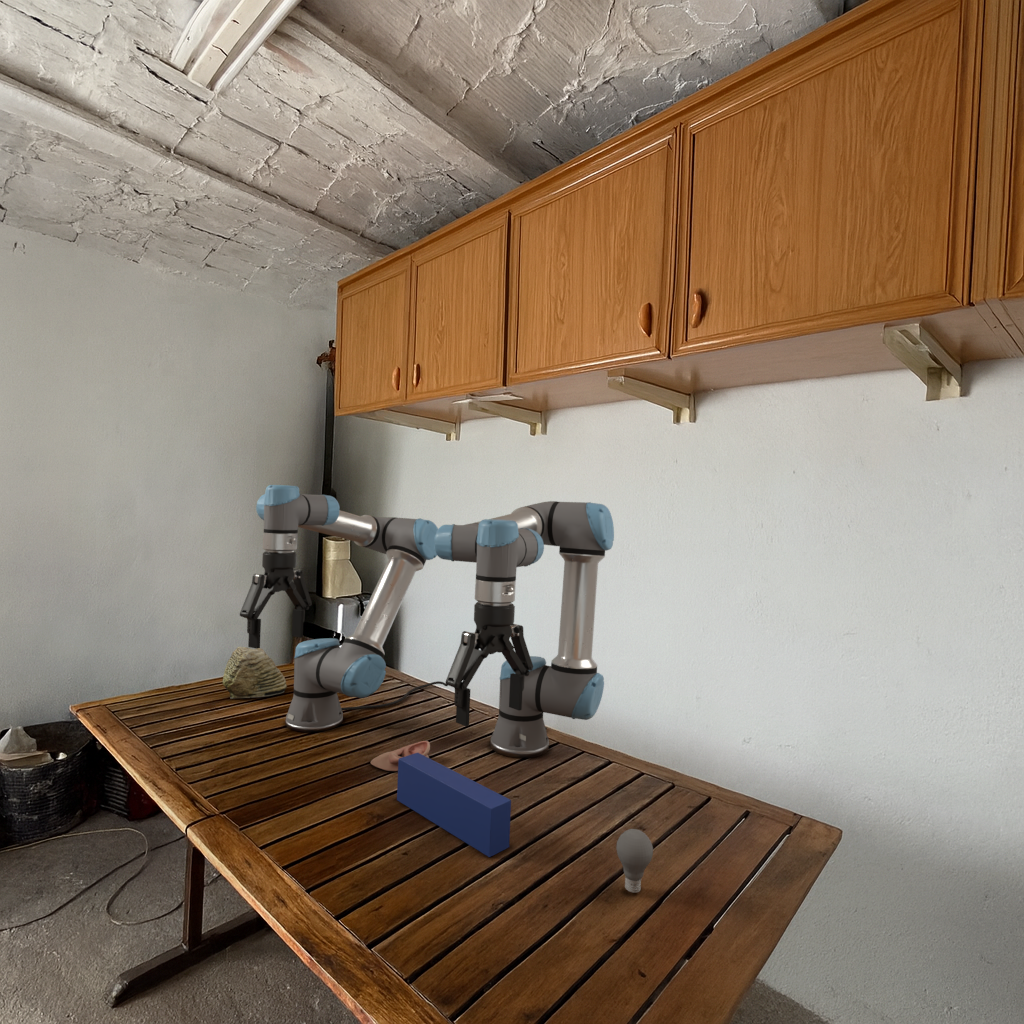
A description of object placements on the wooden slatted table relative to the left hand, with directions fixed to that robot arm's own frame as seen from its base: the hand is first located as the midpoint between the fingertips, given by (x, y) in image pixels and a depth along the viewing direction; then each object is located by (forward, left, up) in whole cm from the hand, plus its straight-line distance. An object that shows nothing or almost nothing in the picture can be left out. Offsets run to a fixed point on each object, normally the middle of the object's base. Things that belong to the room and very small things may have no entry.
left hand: (276, 642), depth 148 cm
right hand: (-9, +59, -5) cm, 59 cm away
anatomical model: (-22, +20, -29) cm, 41 cm away
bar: (-10, +48, -29) cm, 57 cm away
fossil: (-24, -50, -29) cm, 62 cm away
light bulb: (-14, +86, -29) cm, 92 cm away
